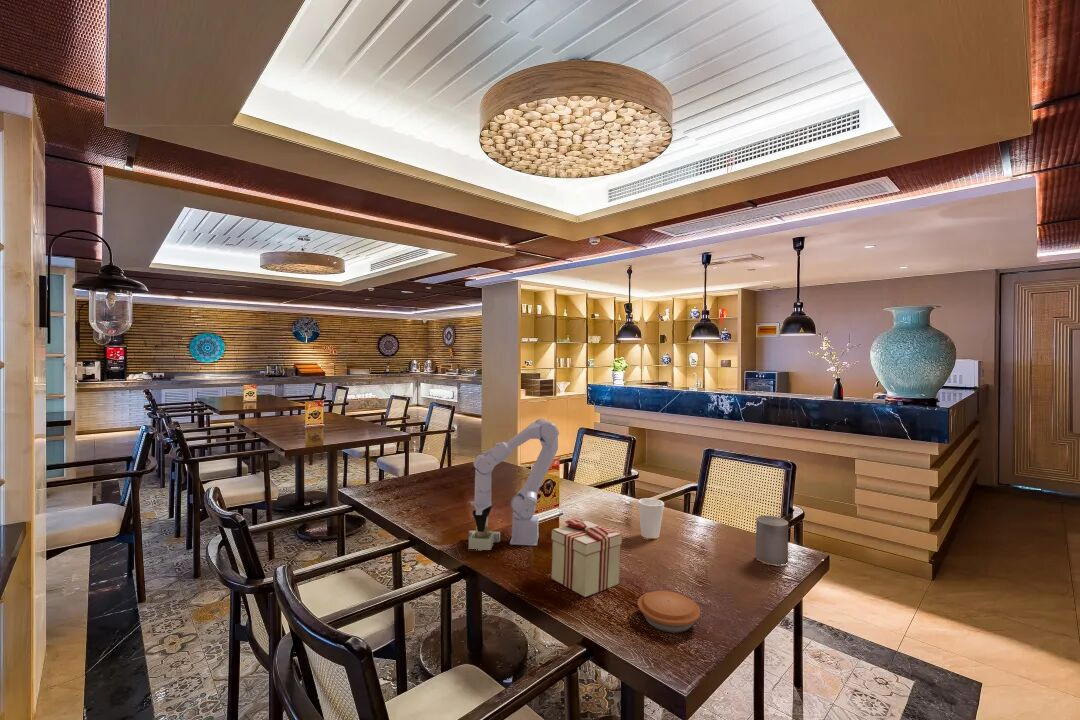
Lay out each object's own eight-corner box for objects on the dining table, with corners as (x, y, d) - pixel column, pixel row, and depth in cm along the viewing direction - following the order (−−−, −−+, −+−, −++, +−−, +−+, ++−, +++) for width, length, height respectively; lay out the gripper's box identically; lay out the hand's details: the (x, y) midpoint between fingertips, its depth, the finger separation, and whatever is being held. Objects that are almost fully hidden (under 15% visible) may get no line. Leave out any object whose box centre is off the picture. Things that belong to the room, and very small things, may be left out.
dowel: (488, 534, 168) (488, 511, 168) (486, 538, 164) (487, 515, 164) (477, 533, 169) (477, 511, 168) (474, 538, 165) (475, 514, 164)
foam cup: (661, 543, 173) (662, 507, 173) (635, 539, 176) (636, 504, 176) (663, 534, 182) (664, 499, 182) (639, 530, 185) (640, 497, 185)
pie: (698, 644, 112) (699, 623, 112) (632, 629, 118) (632, 609, 118) (701, 612, 127) (702, 593, 127) (642, 599, 132) (643, 581, 132)
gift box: (628, 580, 144) (629, 522, 144) (588, 601, 131) (590, 538, 131) (584, 561, 156) (586, 508, 156) (544, 579, 143) (546, 521, 143)
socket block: (494, 543, 170) (494, 531, 170) (490, 551, 163) (490, 540, 163) (473, 541, 171) (473, 530, 171) (468, 550, 163) (468, 538, 163)
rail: (499, 540, 172) (500, 531, 172) (499, 542, 170) (499, 533, 170) (469, 538, 173) (469, 530, 173) (468, 540, 171) (468, 532, 171)
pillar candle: (770, 553, 166) (771, 510, 166) (794, 564, 157) (795, 519, 157) (748, 557, 162) (749, 513, 162) (772, 569, 153) (772, 522, 153)
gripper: (475, 484, 174) (474, 521, 174) (467, 495, 159) (466, 536, 159) (494, 484, 173) (494, 522, 174) (488, 496, 159) (487, 537, 159)
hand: (482, 529), depth 166 cm, fingers closed on dowel, 4 cm apart
